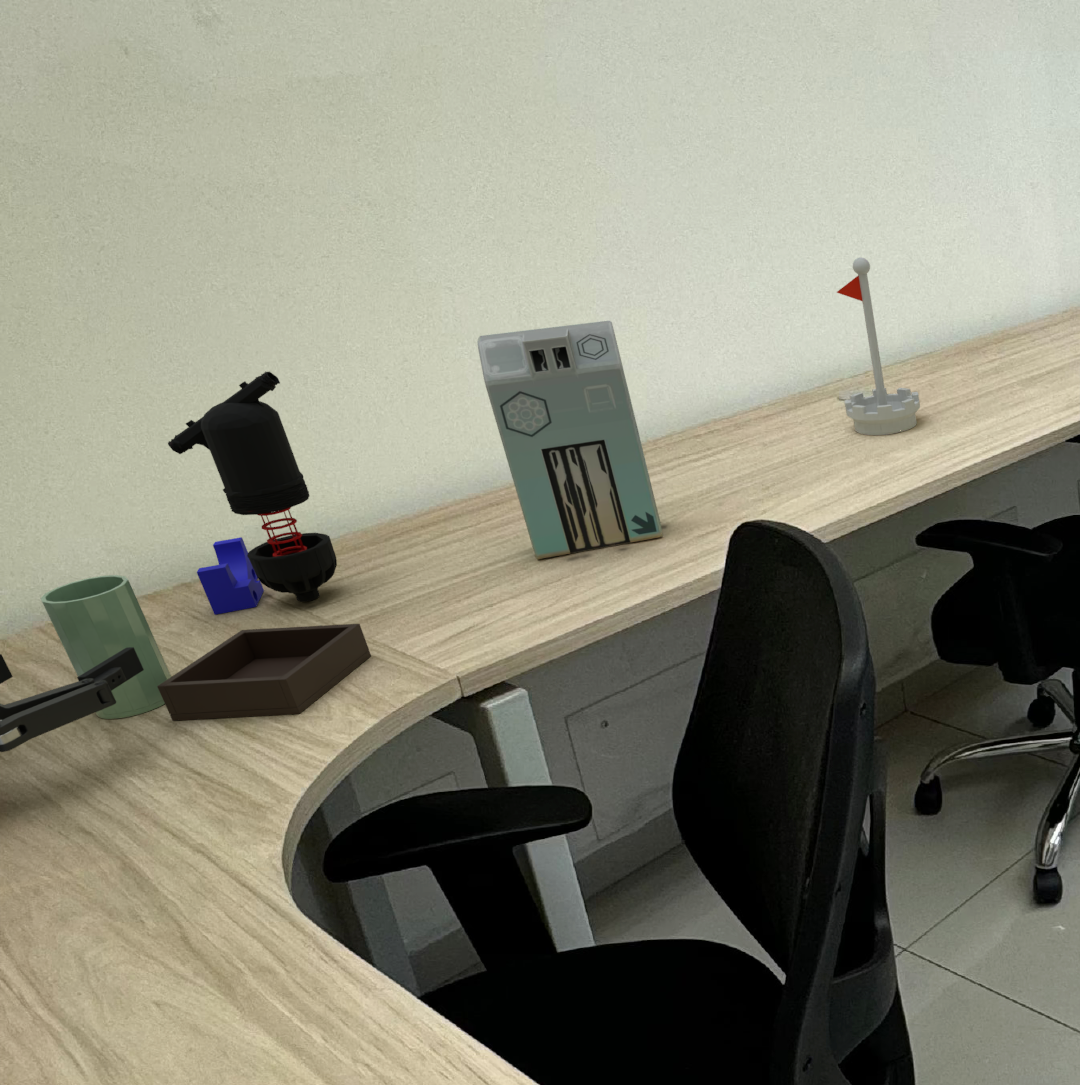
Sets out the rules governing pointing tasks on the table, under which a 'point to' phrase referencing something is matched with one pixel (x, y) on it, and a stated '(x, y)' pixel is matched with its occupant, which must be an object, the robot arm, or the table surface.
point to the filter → (263, 485)
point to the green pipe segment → (108, 637)
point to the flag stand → (877, 375)
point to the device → (570, 437)
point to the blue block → (231, 578)
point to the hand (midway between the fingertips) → (69, 662)
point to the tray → (265, 672)
